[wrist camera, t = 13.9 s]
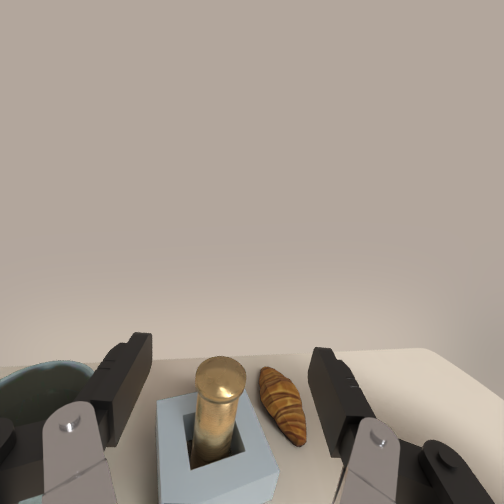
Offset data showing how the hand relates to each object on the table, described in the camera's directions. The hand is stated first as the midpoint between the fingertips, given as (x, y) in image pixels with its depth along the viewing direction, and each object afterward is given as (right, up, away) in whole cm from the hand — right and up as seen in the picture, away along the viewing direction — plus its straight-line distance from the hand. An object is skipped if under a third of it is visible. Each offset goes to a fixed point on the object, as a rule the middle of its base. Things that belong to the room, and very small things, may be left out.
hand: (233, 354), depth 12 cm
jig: (-5, -21, +19) cm, 29 cm away
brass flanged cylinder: (-5, -21, +19) cm, 29 cm away
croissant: (+5, -20, +28) cm, 35 cm away
